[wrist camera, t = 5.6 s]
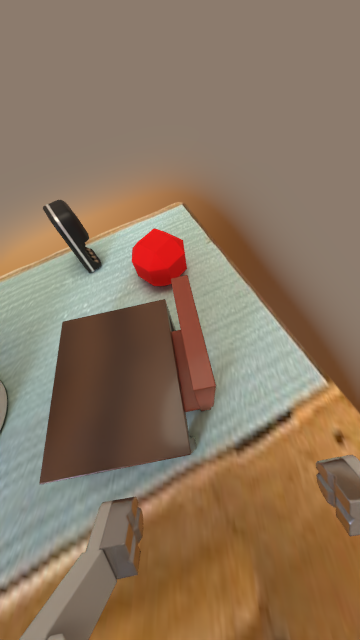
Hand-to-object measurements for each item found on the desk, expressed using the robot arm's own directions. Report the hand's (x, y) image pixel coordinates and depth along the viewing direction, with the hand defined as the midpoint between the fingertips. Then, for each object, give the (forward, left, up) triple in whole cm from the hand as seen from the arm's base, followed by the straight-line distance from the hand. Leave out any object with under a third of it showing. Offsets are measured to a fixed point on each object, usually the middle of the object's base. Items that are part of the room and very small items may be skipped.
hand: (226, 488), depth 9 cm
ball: (-9, +27, -16) cm, 33 cm away
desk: (-11, +6, -16) cm, 20 cm away
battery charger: (-25, +31, -16) cm, 43 cm away
